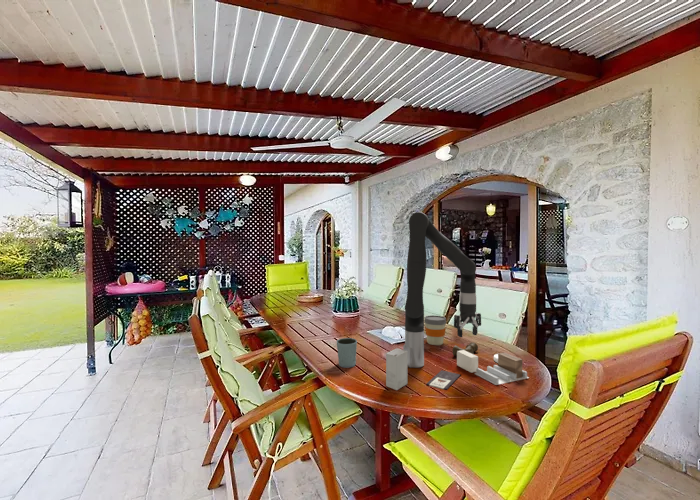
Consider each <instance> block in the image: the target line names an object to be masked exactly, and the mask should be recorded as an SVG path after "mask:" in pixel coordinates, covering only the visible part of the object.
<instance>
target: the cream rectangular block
mask: <svg viewBox="0 0 700 500" xmlns="http://www.w3.org/2000/svg"><path fill="white" fill-rule="evenodd" d="M456 366H458V367H460V368H461V369H463V370H465V371H468V372H469V373H476V368H479V356H478V355H475V354H474V353H473V354H471V353H469V352H467V351H465V350H460V351H457V356H456Z"/></svg>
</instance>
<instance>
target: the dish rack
mask: <svg viewBox="0 0 700 500" xmlns="http://www.w3.org/2000/svg"><path fill="white" fill-rule="evenodd" d="M474 375H476V376H477V377H479V378H482V379H484V380H485V381H487V382H489V383H492V384H493V385H495V386H497V385H502V384H507V383H511V382H516V381H522V380H526V379H529V378H530V377H529V376H528V372H527V371H526V370H523V369H522V378H517V379H516V375H517V374H515V373H513V372H511V371H508V370H506V369H504V368H502V367H500V366H498V364H493V367H492V366H490V365H488V366H486V370H483V369H482V368H479V367H478V368H476V372H474Z"/></svg>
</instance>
